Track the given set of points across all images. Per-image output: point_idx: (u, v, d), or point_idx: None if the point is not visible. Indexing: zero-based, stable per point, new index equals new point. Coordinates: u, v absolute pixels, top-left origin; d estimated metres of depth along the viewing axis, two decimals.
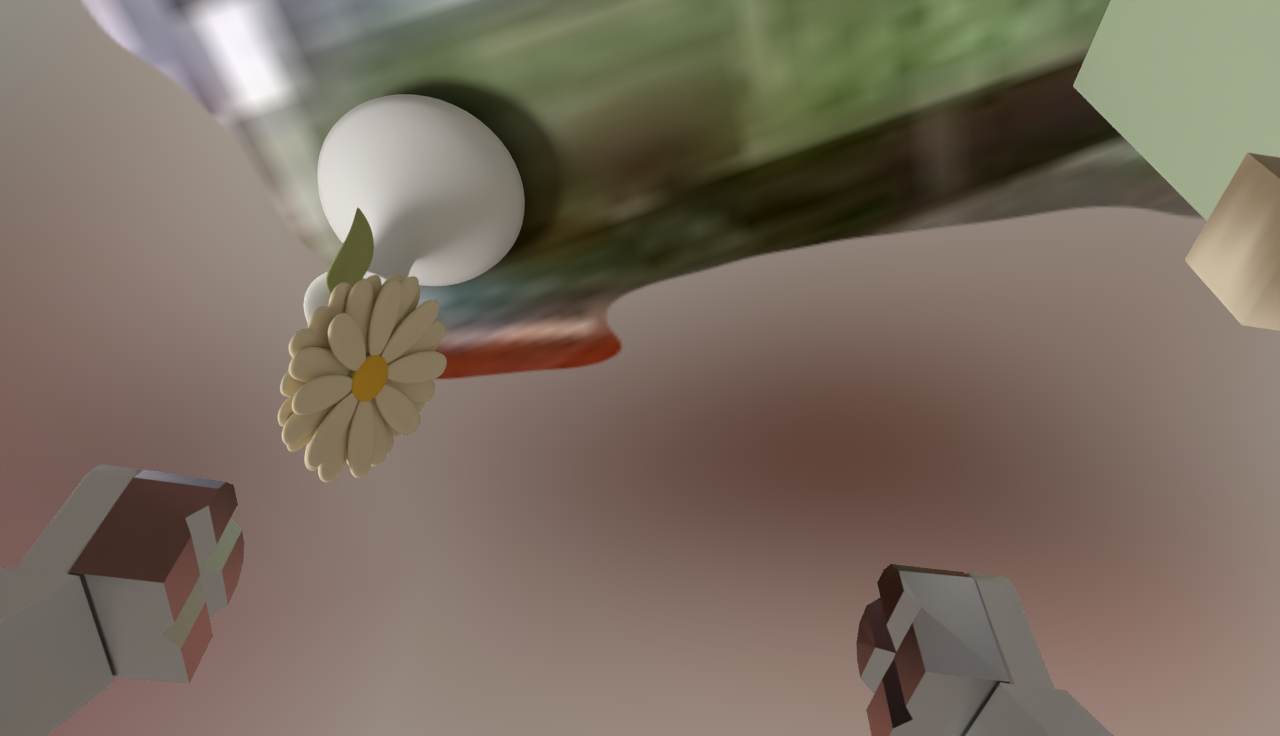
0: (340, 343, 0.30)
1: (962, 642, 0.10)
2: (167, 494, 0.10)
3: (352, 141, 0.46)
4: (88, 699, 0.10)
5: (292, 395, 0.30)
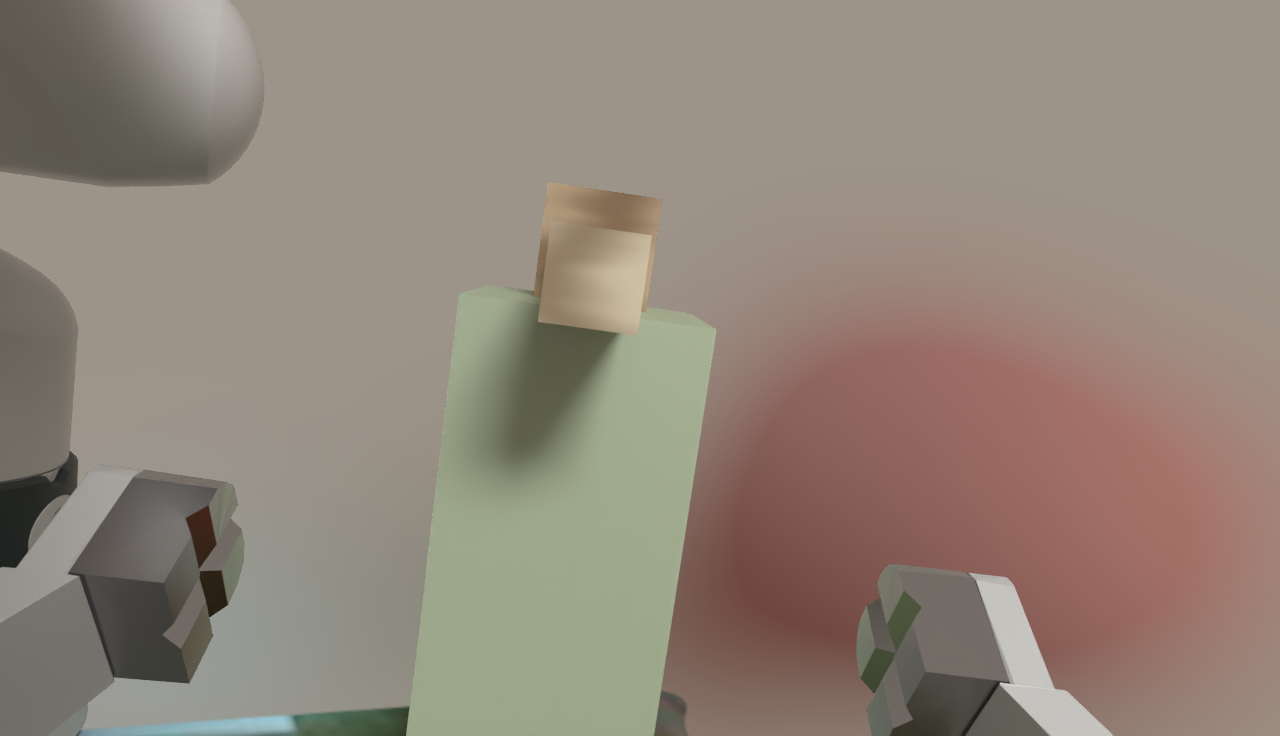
0: None
1: (962, 642, 0.10)
2: (167, 494, 0.10)
3: None
4: (88, 699, 0.10)
5: None
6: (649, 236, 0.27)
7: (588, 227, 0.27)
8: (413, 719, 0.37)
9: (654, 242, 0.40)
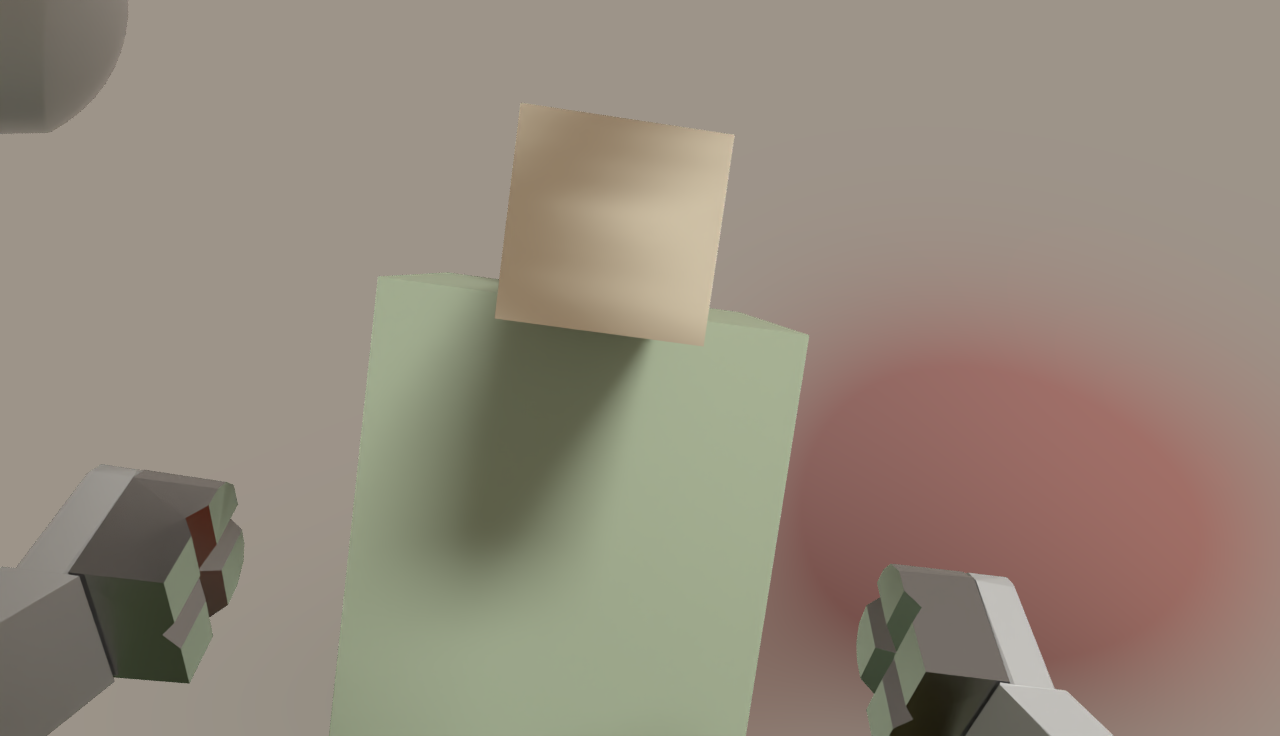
0: None
1: (962, 642, 0.10)
2: (167, 494, 0.10)
3: None
4: (87, 701, 0.10)
5: None
6: (729, 137, 0.13)
7: (600, 117, 0.13)
8: None
9: None
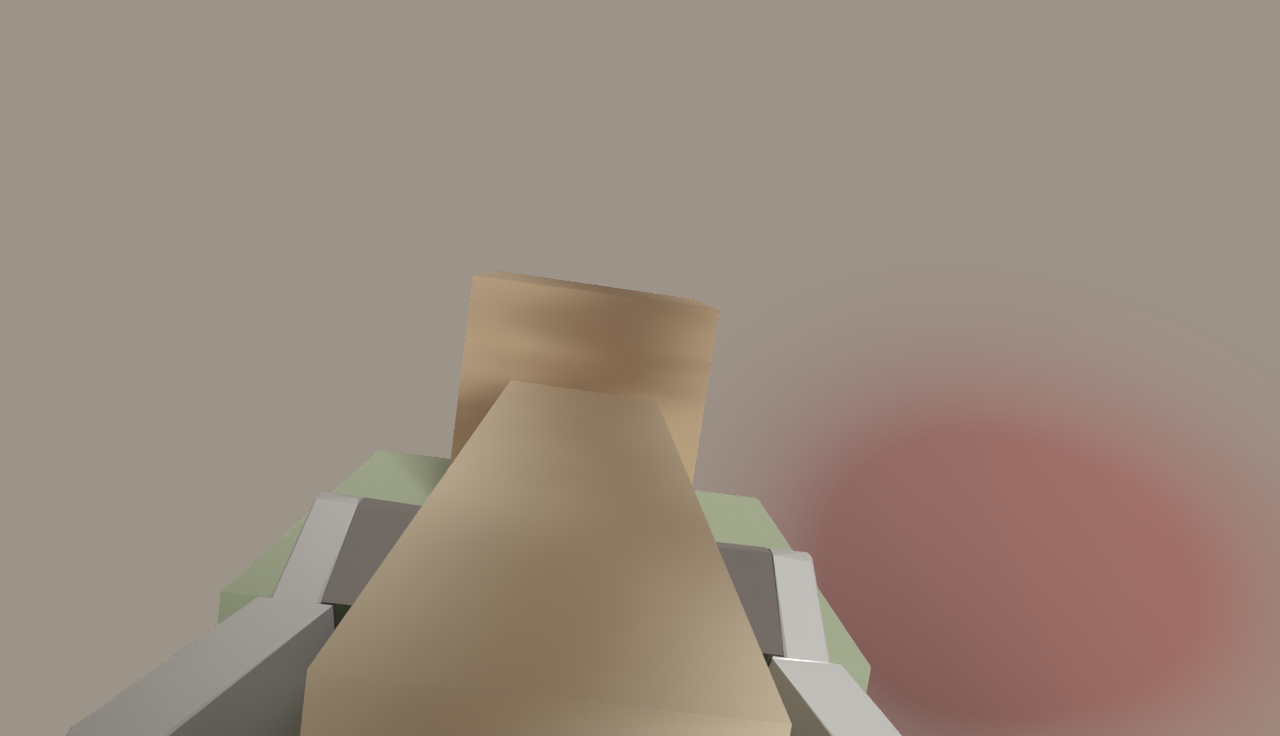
0: None
1: None
2: (394, 522, 0.10)
3: None
4: None
5: None
6: (779, 729, 0.06)
7: (490, 694, 0.06)
8: None
9: (702, 401, 0.19)
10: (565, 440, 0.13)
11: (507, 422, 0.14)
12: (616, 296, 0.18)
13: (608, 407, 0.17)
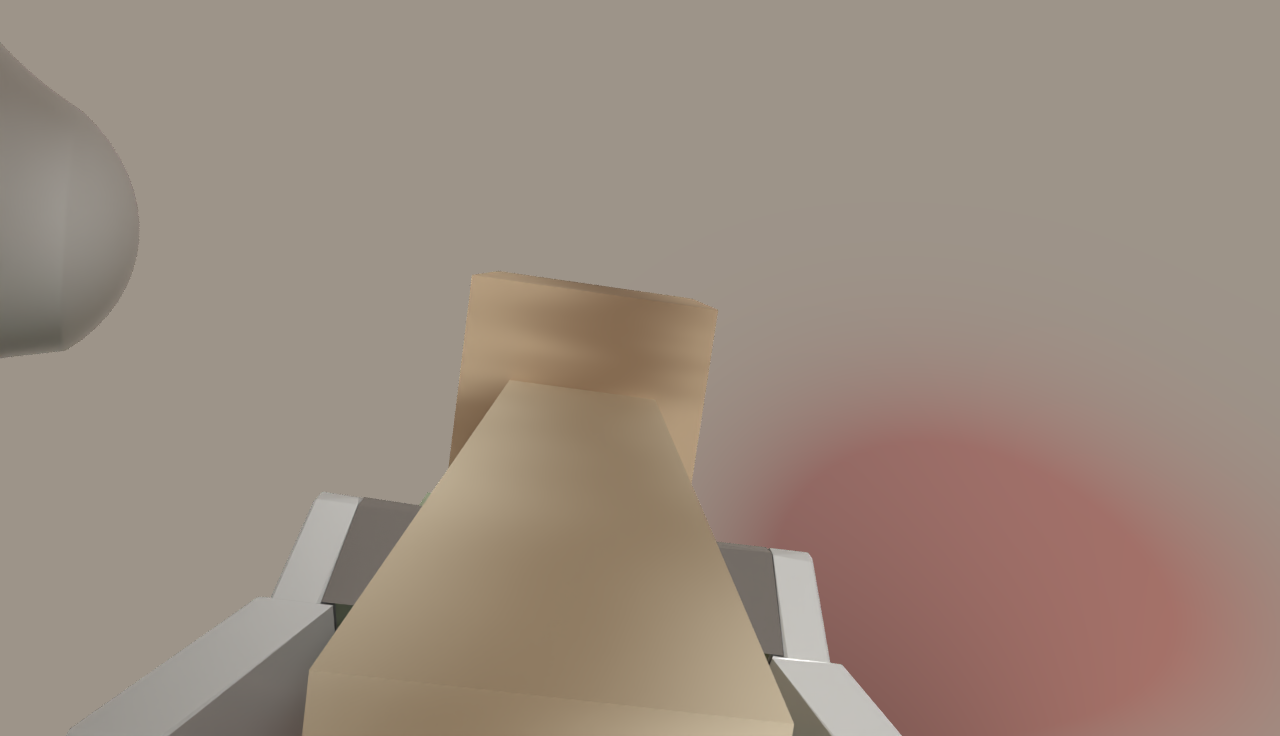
0: None
1: None
2: (394, 522, 0.10)
3: None
4: None
5: None
6: (782, 729, 0.06)
7: (492, 694, 0.06)
8: None
9: (701, 401, 0.19)
10: (565, 440, 0.13)
11: (506, 422, 0.14)
12: (615, 296, 0.18)
13: (607, 407, 0.17)
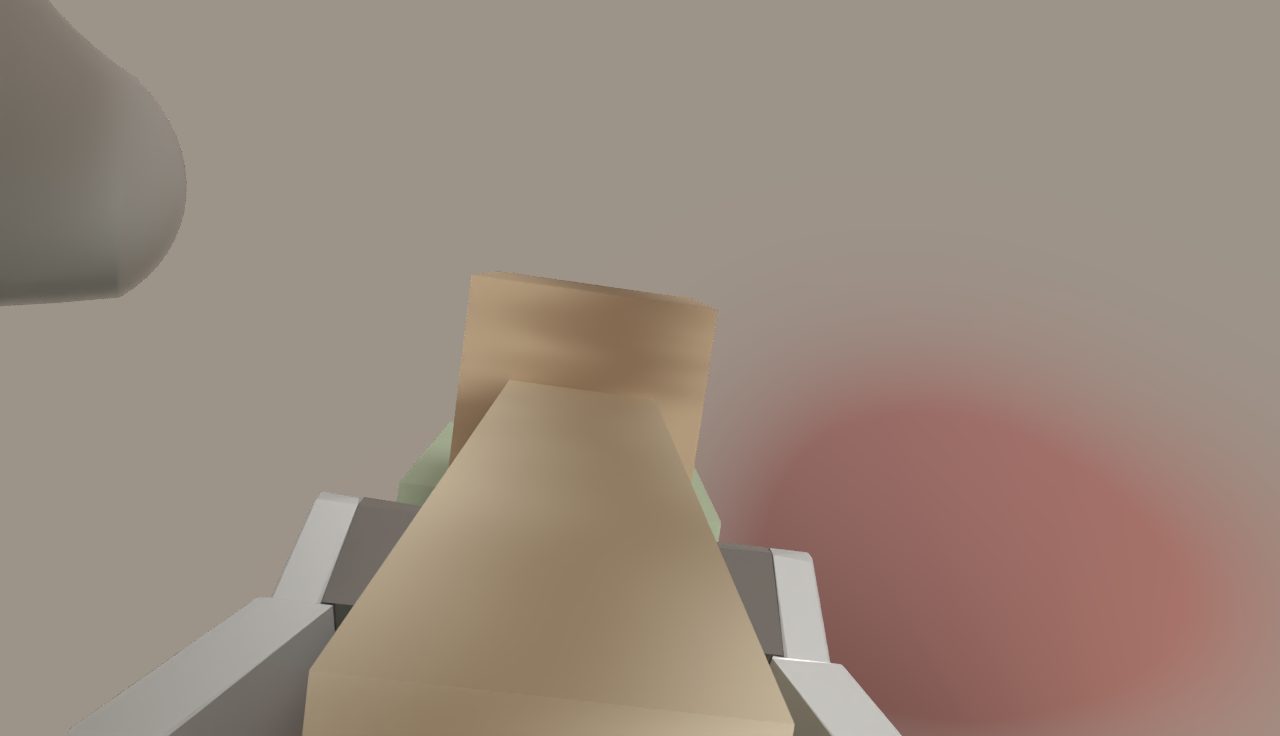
0: None
1: None
2: (394, 522, 0.10)
3: None
4: None
5: None
6: (782, 729, 0.06)
7: (492, 695, 0.06)
8: None
9: (700, 401, 0.19)
10: (564, 440, 0.13)
11: (506, 422, 0.14)
12: (615, 296, 0.18)
13: (607, 407, 0.17)
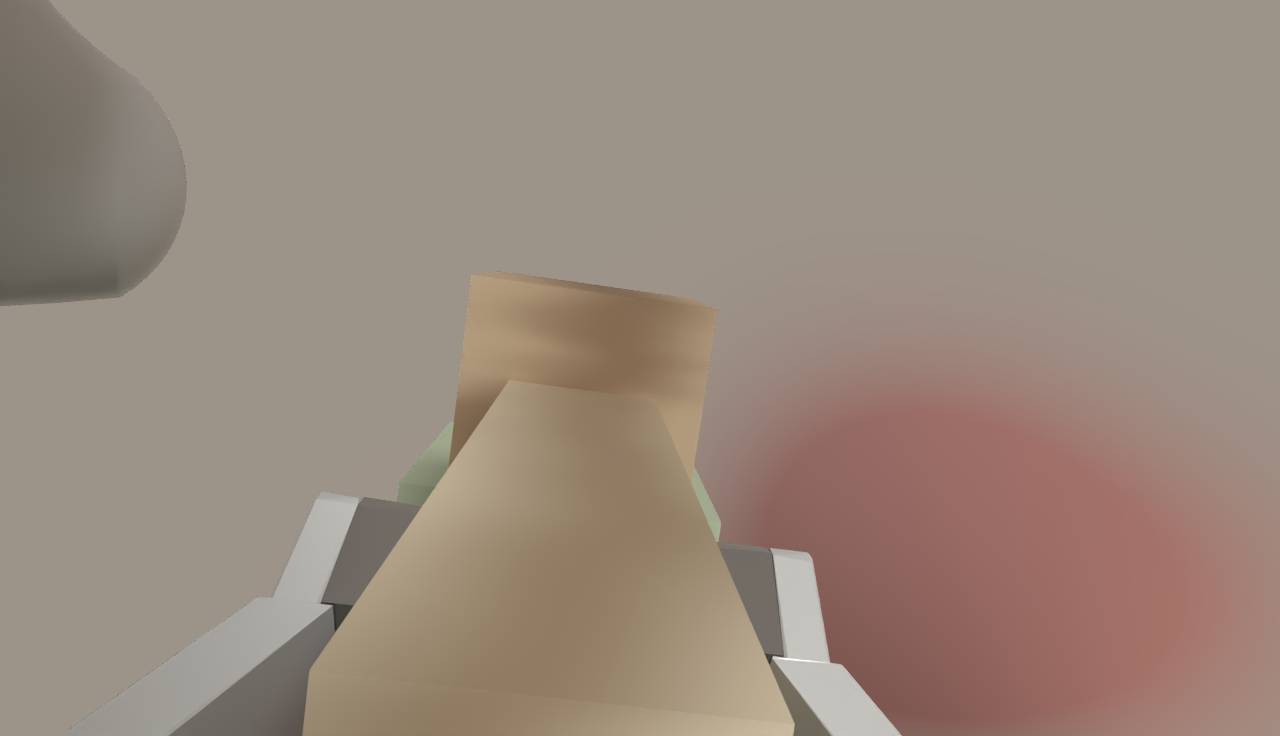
0: None
1: None
2: (394, 522, 0.10)
3: None
4: None
5: None
6: (782, 729, 0.06)
7: (493, 695, 0.06)
8: None
9: (700, 401, 0.19)
10: (564, 440, 0.13)
11: (506, 422, 0.14)
12: (615, 296, 0.18)
13: (607, 407, 0.17)
